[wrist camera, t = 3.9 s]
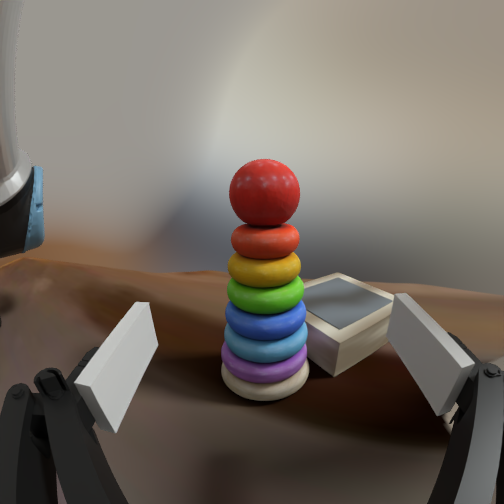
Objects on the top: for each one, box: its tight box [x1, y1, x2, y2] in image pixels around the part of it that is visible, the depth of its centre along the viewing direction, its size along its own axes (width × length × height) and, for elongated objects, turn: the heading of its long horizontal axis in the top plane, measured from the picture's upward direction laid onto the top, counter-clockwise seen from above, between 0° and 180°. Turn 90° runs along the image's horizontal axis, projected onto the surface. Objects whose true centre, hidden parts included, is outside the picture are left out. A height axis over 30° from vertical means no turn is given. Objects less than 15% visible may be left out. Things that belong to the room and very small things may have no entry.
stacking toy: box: [221, 159, 309, 401], centre depth 21 cm, size 8×8×19 cm
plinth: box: [301, 272, 394, 377], centre depth 30 cm, size 12×12×4 cm
